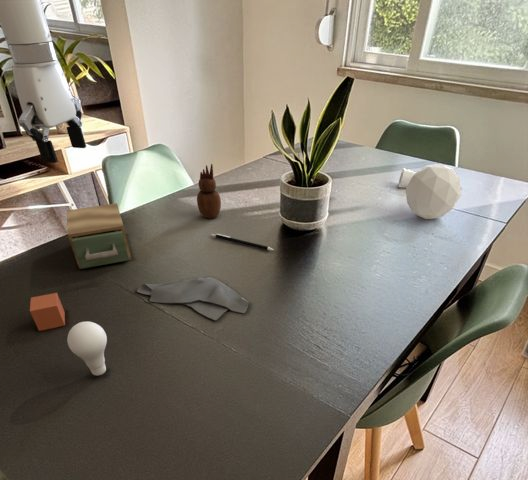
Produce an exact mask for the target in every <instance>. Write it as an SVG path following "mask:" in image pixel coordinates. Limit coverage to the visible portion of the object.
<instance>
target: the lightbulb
mask: <svg viewBox="0 0 528 480" xmlns="http://www.w3.org/2000/svg"><path fill="white" fill-rule="evenodd" d="M107 337H108V336H107V333H106V331H105V330H104V328H103V327H102V326H101V325H100V324H98V323H96V322H93V321H80V322H78V323H76V324H75V325H73V326H72V327H71V328H70V330H69V331H68V334H67V340H66V342H67V346H68V348H69V349H70V351H71V353H73V354H74V355H76V356H77V357H78V358H80V359H82V360H83V362H84V363H85V365H86V367H88V369H89V370H90V373H91V374H92V375H93V376H98V377H99V376H102V375H104V374H105V373H106V371H107V367H106V363H105V362H106V358H105V349H106V346H107V343H108V338H107Z"/></svg>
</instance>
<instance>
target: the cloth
mask: <svg viewBox="0 0 528 480" xmlns="http://www.w3.org/2000/svg"><path fill="white" fill-rule="evenodd" d="M136 292H137V293H138V294H141V295H146V296H150V298H149V301H148V302H150V303H159V304H180V305H185V306H188V308H189V307H191V308H192V309H193V310H194V311H195V312H197V313H198V314H200V315H202V316H203V317H206V318H208V319H210V320H212V321H218V320H219V318H221V317H222V315H224V314H225V313H226V312H227V311H228V310H230V311H231V312H234V313H239V314H246V312H247V310H248V309H249V308H248V307H249V304H250V302H249V301H248V300H247V299H245V298H244V297H243V296H241V295H240V294H239V293H237V292H236V291H235V290H234V289H232V288H230V286H228V285H227V284H225V283H224V282H221V280H219V279H217V278H215V277H212V276H207V277H199V276H198V277H193V278H189V279H178V280H177V279H175V280H171V281H166V282H161V283H143V284H141V285H140V286H139V287H138V288H137V289H136Z"/></svg>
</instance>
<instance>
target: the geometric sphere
mask: <svg viewBox="0 0 528 480" xmlns="http://www.w3.org/2000/svg"><path fill="white" fill-rule="evenodd" d="M416 172H417V173H415V174H414V175H413V177H412V179H411V180H410V182H409V184H408V186H407V187H405V195H406V203H407V205H408V208H409V209H410V211H411V213H412V214H413V215H415V216H417V217H420V218H422V219H423V220H434V219H440V218H443V217H444V216H446V215H447V214H448V213H449V212H451V211H452V210H453V209H454V207H455V206H456V204H457V203H458V201H459V200H460V198H461V196H462V191H461V190H462V189H461V188H462V187H461V180H460V177H459V175H458V173H457V172H456V170H455V169H454V168H452V167H450V166H448V165H445V164H443V163H440V162H439V163H434V164H428V165H424V166H422V167H421V168H420V169H419V170H417V171H416Z"/></svg>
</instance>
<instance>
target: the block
mask: <svg viewBox="0 0 528 480" xmlns="http://www.w3.org/2000/svg"><path fill="white" fill-rule="evenodd" d="M29 313H30V315H31V317H32V320H33V321H34V324H35V325H36V328H37V331H39V332H41V331H46V330H51V329H55V328H60V327H65V326H66V317H65V316H66V315H65V313H66V312H65V309H64V307H63V304H62V302H61V299H60V297H59V295H58V292H53V293H48V294H43V295H38V296H37V295H36V296H32V297H30V305H29Z"/></svg>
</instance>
